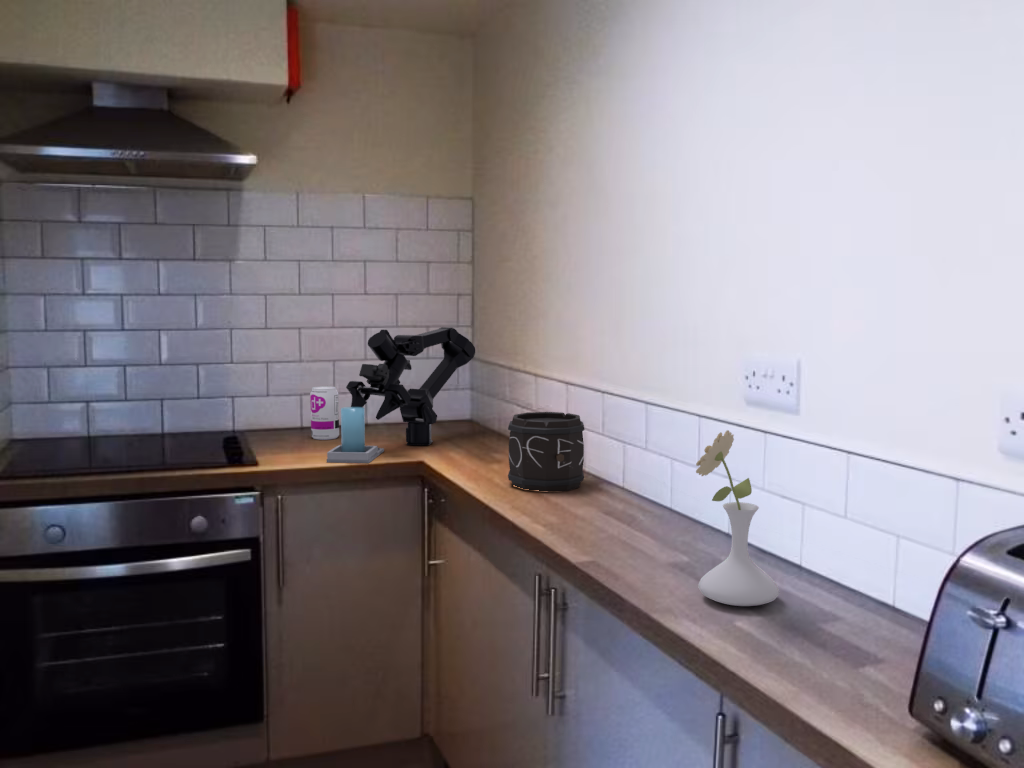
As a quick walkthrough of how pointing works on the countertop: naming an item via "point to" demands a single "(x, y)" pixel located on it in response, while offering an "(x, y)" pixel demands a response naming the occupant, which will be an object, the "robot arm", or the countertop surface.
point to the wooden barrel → (546, 451)
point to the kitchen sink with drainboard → (353, 455)
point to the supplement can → (324, 413)
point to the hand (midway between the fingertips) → (363, 417)
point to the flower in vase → (734, 541)
